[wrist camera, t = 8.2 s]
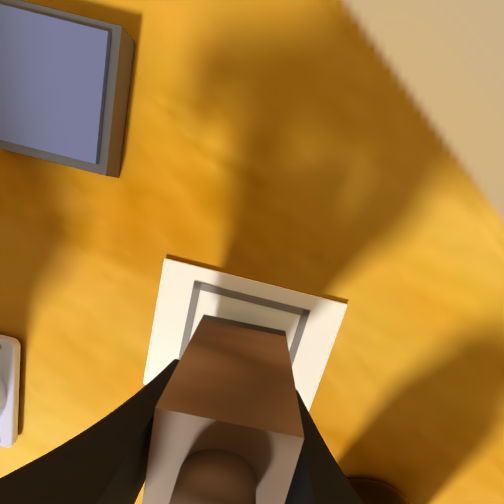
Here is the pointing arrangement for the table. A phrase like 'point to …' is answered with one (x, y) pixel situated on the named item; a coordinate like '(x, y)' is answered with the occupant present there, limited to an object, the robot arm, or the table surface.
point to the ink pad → (63, 86)
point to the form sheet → (242, 318)
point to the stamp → (226, 420)
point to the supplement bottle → (376, 492)
